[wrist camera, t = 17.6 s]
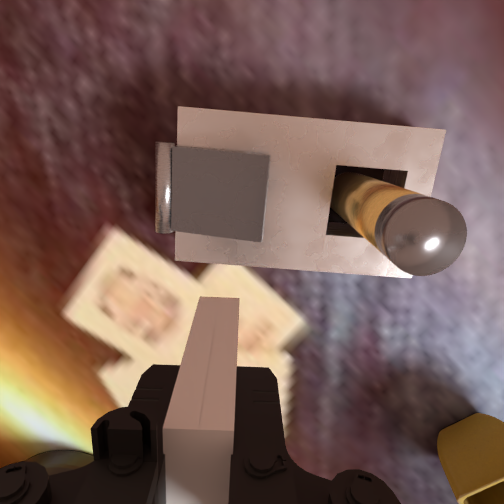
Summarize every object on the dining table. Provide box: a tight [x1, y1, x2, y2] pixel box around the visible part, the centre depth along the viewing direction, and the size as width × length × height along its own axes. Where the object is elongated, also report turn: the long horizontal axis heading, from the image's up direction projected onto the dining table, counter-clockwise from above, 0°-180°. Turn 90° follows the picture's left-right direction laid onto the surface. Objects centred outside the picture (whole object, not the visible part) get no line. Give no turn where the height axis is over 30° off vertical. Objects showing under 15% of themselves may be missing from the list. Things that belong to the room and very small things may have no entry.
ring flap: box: [155, 142, 271, 242], centre depth 28 cm, size 9×7×1 cm
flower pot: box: [437, 413, 504, 504], centre depth 39 cm, size 9×9×9 cm
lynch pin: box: [330, 172, 467, 276], centre depth 26 cm, size 4×4×16 cm
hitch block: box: [175, 106, 446, 278], centre depth 31 cm, size 20×12×5 cm, turn 85°
